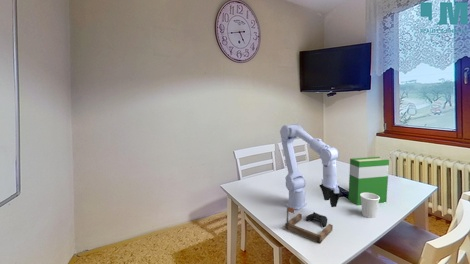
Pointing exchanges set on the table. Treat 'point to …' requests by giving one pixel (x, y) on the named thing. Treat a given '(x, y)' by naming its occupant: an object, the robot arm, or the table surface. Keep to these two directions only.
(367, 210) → the dixie cup
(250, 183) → the table surface
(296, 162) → the robot arm
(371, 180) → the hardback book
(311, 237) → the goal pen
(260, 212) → the table surface
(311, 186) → the table surface
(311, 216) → the gaming controller
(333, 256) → the table surface
